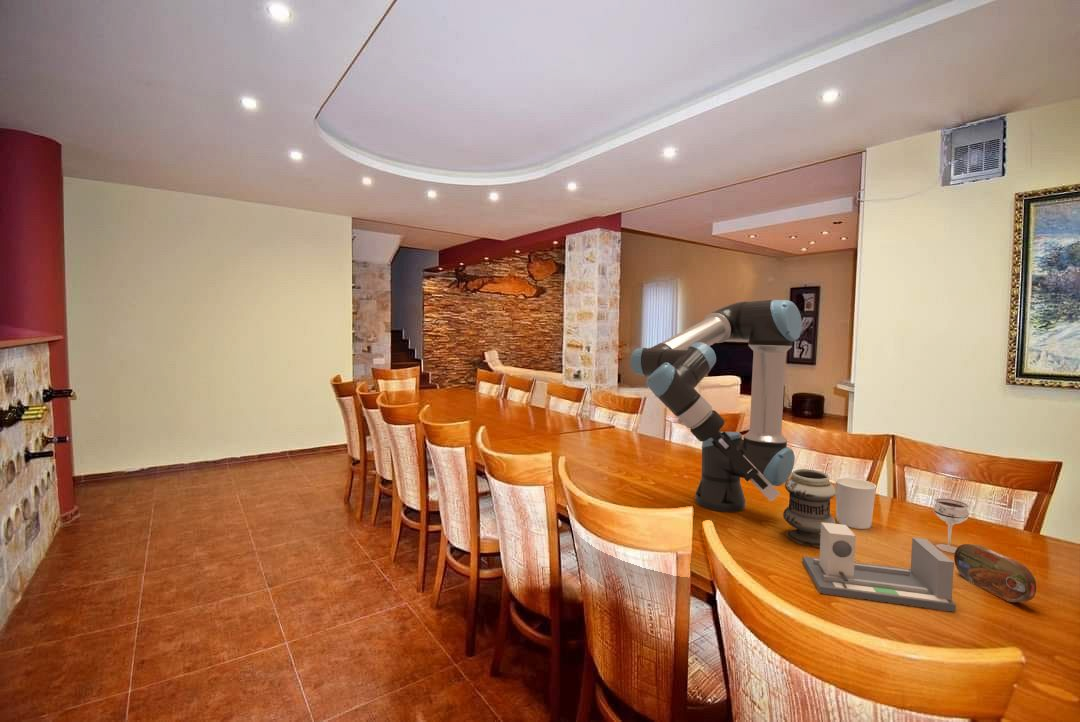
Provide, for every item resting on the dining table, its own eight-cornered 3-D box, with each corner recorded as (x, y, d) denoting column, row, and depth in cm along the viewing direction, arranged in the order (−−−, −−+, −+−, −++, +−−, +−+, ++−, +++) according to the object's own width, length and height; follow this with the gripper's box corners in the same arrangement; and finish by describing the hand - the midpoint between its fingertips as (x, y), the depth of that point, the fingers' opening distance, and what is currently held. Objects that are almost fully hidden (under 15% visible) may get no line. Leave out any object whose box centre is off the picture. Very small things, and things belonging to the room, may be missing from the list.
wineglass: (969, 557, 115) (972, 510, 115) (934, 550, 119) (936, 504, 118) (963, 546, 121) (965, 501, 120) (929, 540, 125) (931, 496, 124)
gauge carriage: (832, 585, 99) (834, 539, 99) (819, 564, 108) (821, 522, 108) (859, 589, 98) (861, 542, 97) (843, 567, 107) (845, 524, 106)
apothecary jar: (785, 544, 122) (787, 477, 121) (780, 526, 133) (782, 464, 132) (838, 552, 118) (842, 482, 117) (829, 533, 129) (831, 469, 128)
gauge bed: (819, 593, 99) (821, 550, 99) (802, 562, 113) (803, 523, 112) (955, 612, 93) (958, 566, 92) (919, 576, 106) (922, 536, 106)
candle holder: (881, 531, 130) (883, 489, 129) (842, 528, 132) (844, 487, 131) (864, 517, 140) (866, 478, 139) (828, 515, 142) (829, 476, 141)
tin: (951, 572, 108) (954, 537, 108) (964, 572, 109) (966, 536, 108) (1024, 611, 93) (1027, 570, 93) (1038, 610, 94) (1041, 570, 93)
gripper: (683, 420, 123) (741, 481, 121) (695, 441, 98) (768, 518, 96) (705, 401, 121) (764, 462, 119) (723, 417, 97) (798, 495, 95)
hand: (766, 487), depth 108 cm, fingers open, 13 cm apart
